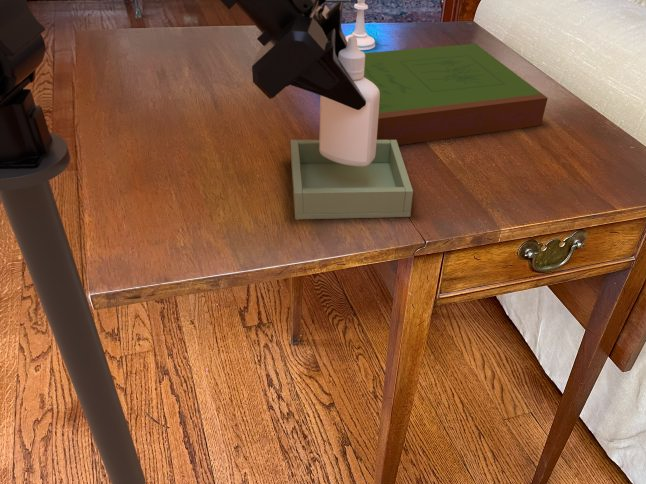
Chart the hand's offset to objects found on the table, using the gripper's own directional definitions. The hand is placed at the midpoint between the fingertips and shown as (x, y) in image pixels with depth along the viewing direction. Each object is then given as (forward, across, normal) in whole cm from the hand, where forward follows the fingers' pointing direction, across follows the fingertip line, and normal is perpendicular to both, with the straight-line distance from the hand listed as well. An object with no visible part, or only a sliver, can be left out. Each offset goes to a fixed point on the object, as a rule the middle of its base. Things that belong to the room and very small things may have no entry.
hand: (363, 97), depth 61 cm
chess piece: (+6, +42, +9) cm, 44 cm away
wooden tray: (+7, 0, +8) cm, 10 cm away
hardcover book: (+13, +23, +2) cm, 26 cm away
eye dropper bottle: (+4, 0, +6) cm, 7 cm away
